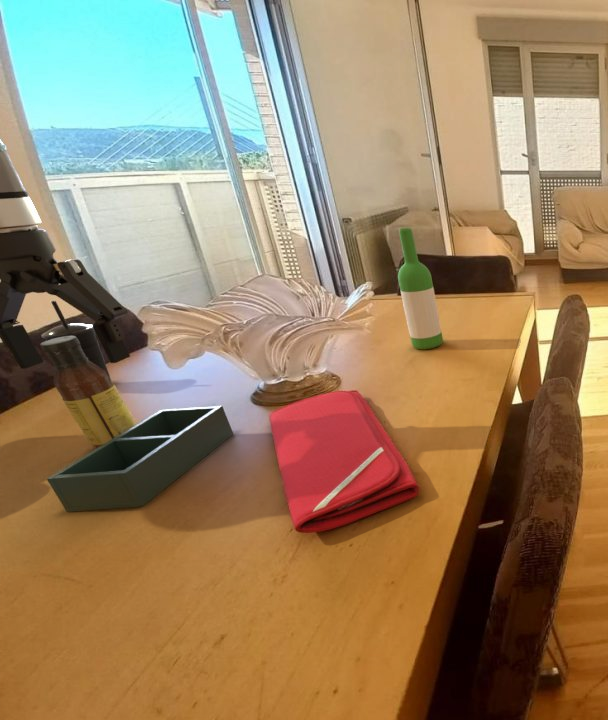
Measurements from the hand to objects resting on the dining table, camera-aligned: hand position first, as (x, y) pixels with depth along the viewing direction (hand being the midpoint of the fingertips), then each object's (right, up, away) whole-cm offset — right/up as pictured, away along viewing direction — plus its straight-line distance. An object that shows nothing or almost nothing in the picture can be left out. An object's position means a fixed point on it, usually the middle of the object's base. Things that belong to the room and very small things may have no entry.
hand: (77, 362), depth 78 cm
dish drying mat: (+42, -15, +1) cm, 45 cm away
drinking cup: (-28, -6, +28) cm, 40 cm away
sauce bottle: (0, -15, +6) cm, 16 cm away
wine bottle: (+38, +4, +48) cm, 61 cm away
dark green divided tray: (+15, -17, -1) cm, 23 cm away
